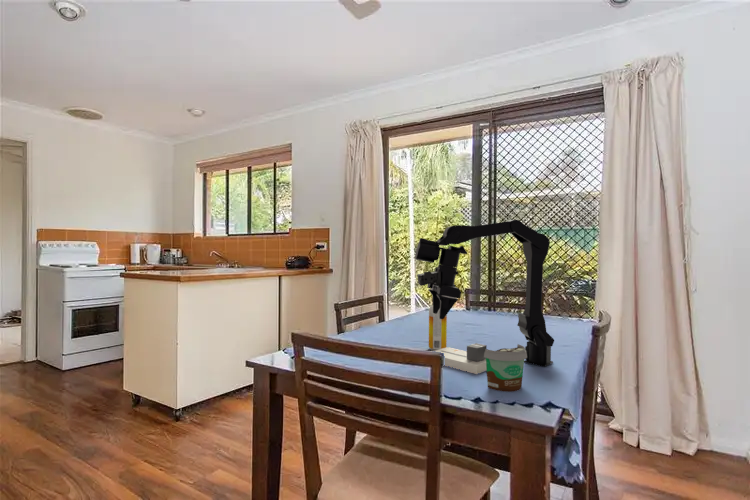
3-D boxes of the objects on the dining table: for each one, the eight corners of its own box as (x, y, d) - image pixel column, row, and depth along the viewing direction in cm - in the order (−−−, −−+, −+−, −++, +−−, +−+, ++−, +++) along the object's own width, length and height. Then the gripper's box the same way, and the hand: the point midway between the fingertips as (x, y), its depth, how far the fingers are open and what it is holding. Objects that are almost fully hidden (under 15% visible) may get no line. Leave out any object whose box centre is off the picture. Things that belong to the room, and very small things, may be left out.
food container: (501, 396, 96) (501, 355, 96) (483, 388, 102) (483, 349, 102) (537, 388, 102) (538, 349, 102) (518, 381, 108) (519, 343, 107)
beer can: (445, 347, 142) (446, 305, 142) (447, 352, 136) (447, 307, 136) (428, 347, 143) (428, 304, 143) (428, 351, 137) (429, 307, 137)
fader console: (496, 366, 121) (496, 358, 121) (476, 374, 113) (476, 365, 113) (447, 354, 134) (447, 346, 134) (426, 360, 126) (426, 352, 126)
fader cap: (486, 358, 120) (486, 345, 120) (477, 362, 116) (477, 348, 116) (475, 356, 122) (476, 343, 122) (466, 359, 119) (466, 345, 119)
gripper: (417, 259, 132) (407, 306, 132) (428, 262, 114) (417, 317, 114) (450, 266, 133) (440, 312, 133) (466, 270, 114) (455, 324, 114)
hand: (437, 316), depth 124 cm, fingers open, 9 cm apart
